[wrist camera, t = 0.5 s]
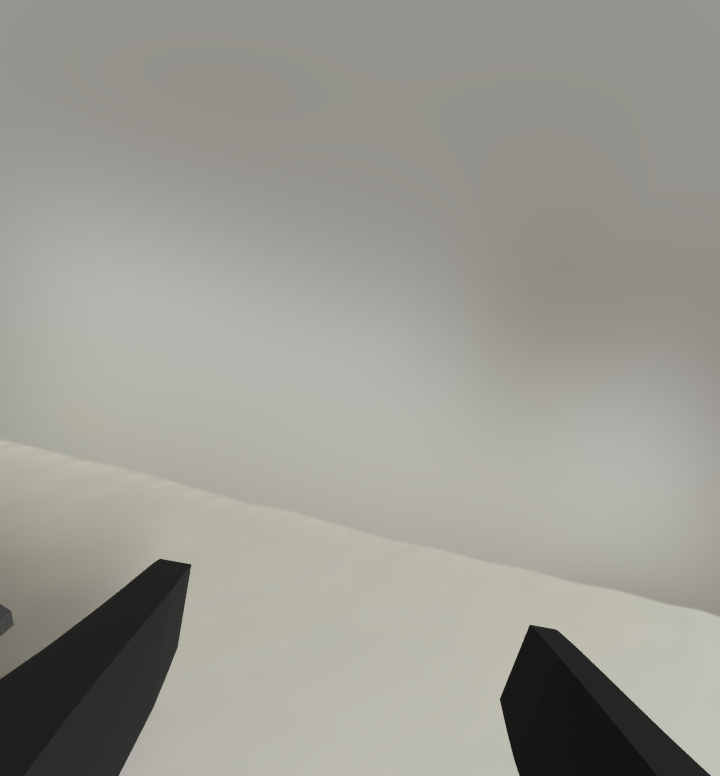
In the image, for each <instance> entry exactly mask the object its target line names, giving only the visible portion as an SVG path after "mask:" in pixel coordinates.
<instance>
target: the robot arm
mask: <svg viewBox="0 0 720 776" xmlns="http://www.w3.org/2000/svg"><path fill="white" fill-rule="evenodd" d="M190 569H191V564H186V563H180V562H174V561H169V560H163V559H159V560H158V561H156V562H154V563H153V564H152V565H150V566H149V567H148V568H147V569H146V570H144V571H143V572H142V573H141V574H140V575H138V576H137V577H136V578H135V579H134V580H132V581H131V582H130V583H129V584H127V585H126V586H125V587H124V588H123V589H121V590H120V591H119V592H118V593H116V594H115V595H114V596H113V597H111V598H110V599H109V600H107V601H106V602H105V603H104V604H102V605H101V606H100V607H99V608H97V609H96V610H95V611H93V612H92V613H91V614H90V615H88V616H87V617H86V618H84V619H83V620H82V621H80V622H79V623H78V624H76V625H75V626H74V627H72V628H71V629H70V630H68V631H67V632H66V633H64V634H63V635H62V636H61V637H59V638H58V639H57V640H55V641H54V642H52V643H51V644H50V645H48V646H47V647H46V648H44V649H43V650H42V651H40V652H39V653H37V654H36V655H34V656H33V657H32V658H30V659H29V660H27V661H26V662H24V663H23V664H22V665H20V666H19V667H17V668H16V669H14V670H13V671H12V672H10V673H9V674H7V675H6V676H4V677H3V678H2V679H0V776H119V774H120V772H121V770H122V768H123V766H124V764H125V762H126V760H127V758H128V756H129V754H130V752H131V750H132V748H133V746H134V744H135V742H136V741H137V739H138V737H139V735H140V733H141V731H142V729H143V727H144V725H145V723H146V721H147V719H148V717H149V715H150V713H151V711H152V709H153V707H154V704H155V702H156V700H157V697H158V695H159V692H160V690H161V687H162V685H163V682H164V680H165V678H166V675H167V672H168V670H169V667H170V665H171V662H172V660H173V657H174V655H175V652H176V650H177V647H178V641H179V635H180V629H181V623H182V617H183V611H184V605H185V599H186V593H187V587H188V581H189V575H190ZM500 701H501V706H502V710H503V715H504V719H505V724H506V728H507V733H508V737H509V740H510V744H511V748H512V752H513V756H514V760H515V763H516V766H517V769H518V772H519V775H520V776H711V775H709V774H708V773H707V772H706V771H705V770H704V769H703V768H702V767H701V766H700V765H698V764H697V763H696V762H695V761H694V760H693V759H692V758H691V757H690V756H689V755H688V754H687V753H686V752H685V751H683V750H682V749H681V748H680V747H679V746H678V745H677V744H676V743H675V742H674V741H673V740H672V739H671V738H670V737H669V736H668V735H667V734H665V733H664V732H663V731H662V730H661V729H660V728H659V727H658V726H657V725H656V724H655V723H654V722H653V721H652V720H651V719H650V718H649V717H648V716H647V715H646V714H645V713H644V712H643V711H642V710H641V709H640V708H638V707H637V706H636V705H635V704H634V703H633V702H632V701H631V700H630V699H629V698H628V697H627V696H626V695H625V694H624V693H623V692H622V691H621V690H620V689H619V688H618V687H617V686H616V685H615V684H614V683H613V682H612V681H611V680H610V679H609V678H608V677H607V676H606V675H605V674H604V673H603V672H602V671H600V670H599V669H598V668H597V667H596V666H595V665H594V664H593V663H592V662H591V661H590V660H589V659H588V658H587V657H586V656H585V655H584V654H583V653H582V652H581V651H580V650H579V649H577V648H576V647H575V646H574V645H573V644H572V643H571V642H570V641H569V640H568V639H567V638H565V637H564V636H563V635H562V634H561V633H560V632H559V631H557V630H555V629H550V628H544V627H538V626H533V625H530V626H529V628H528V631H527V633H526V636H525V638H524V641H523V643H522V646H521V648H520V651H519V653H518V656H517V658H516V661H515V663H514V666H513V668H512V671H511V673H510V675H509V678H508V680H507V683H506V685H505V688H504V690H503V693H502V695H501V698H500Z"/></svg>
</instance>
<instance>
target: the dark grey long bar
mask: <svg viewBox="0 0 720 776" xmlns="http://www.w3.org/2000/svg"><path fill="white" fill-rule="evenodd" d="M13 625H14V623H13V619H12V614H11V611H10V610H9V609H7V608H5V607H4V606H2V605H1V604H0V636H1V635H2V634H3V633H4V632H6V631H7V630H8V629H9V628H10V627H12V626H13Z"/></svg>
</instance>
